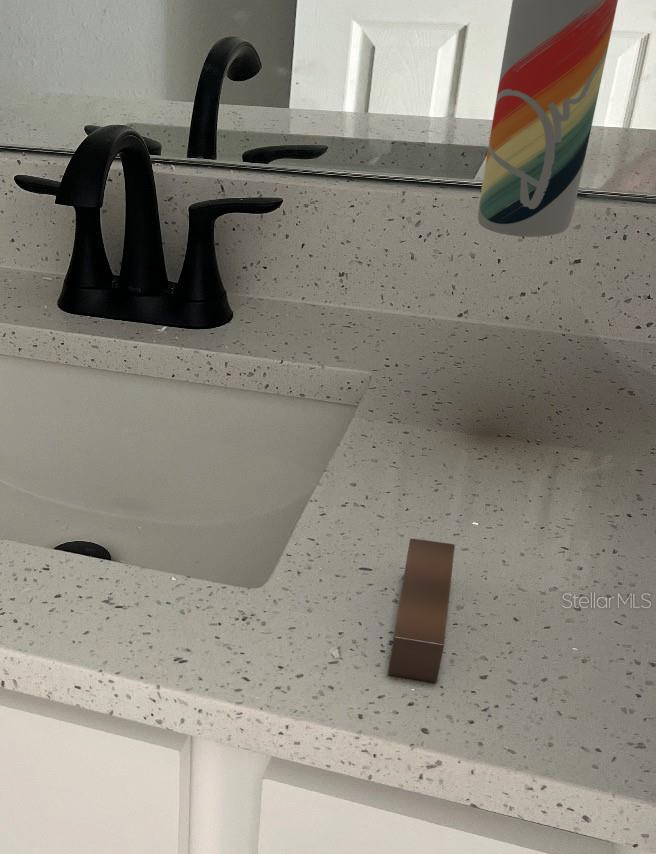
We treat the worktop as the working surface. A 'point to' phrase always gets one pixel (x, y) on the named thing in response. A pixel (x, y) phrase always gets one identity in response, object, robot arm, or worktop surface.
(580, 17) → the lotion bottle
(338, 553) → the worktop surface
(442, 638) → the walnut stick
